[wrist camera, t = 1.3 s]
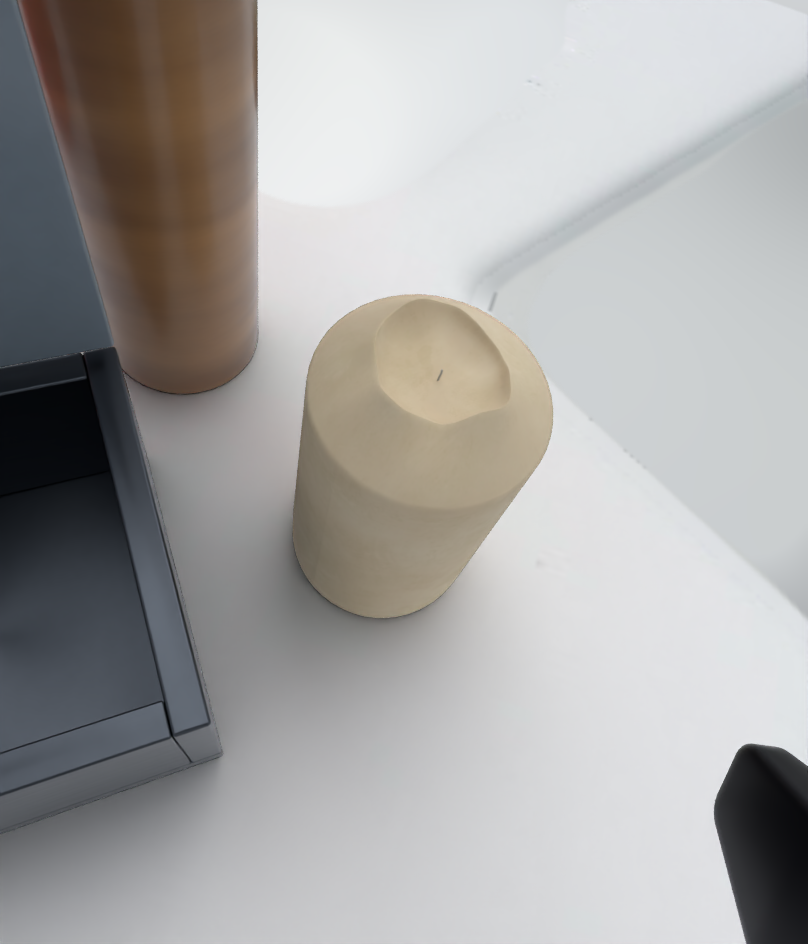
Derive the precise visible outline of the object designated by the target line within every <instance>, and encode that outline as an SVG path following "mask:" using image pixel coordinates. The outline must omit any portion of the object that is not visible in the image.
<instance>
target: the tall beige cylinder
mask: <svg viewBox="0 0 808 944" xmlns="http://www.w3.org/2000/svg"><path fill="white" fill-rule="evenodd" d="M18 4H19V7H20V11H21V14H22V18H23V21H24V25H25V28H26V32H27V36H28V39H29V43H30V46H31V50H32V53H33V57H34V60H35V64H36V67H37V71H38V74H39V78H40V81H41V85H42V88H43V92H44V95H45V99H46V102H47V106H48V109H49V113H50V116H51V120H52V123H53V127H54V130H55V134H56V137H57V141H58V144H59V148H60V151H61V155H62V158H63V162H64V166H65V169H66V173H67V176H68V180H69V183H70V187H71V190H72V194H73V197H74V201H75V204H76V208H77V211H78V215H79V218H80V222H81V225H82V229H83V232H84V236H85V239H86V243H87V246H88V250H89V253H90V257H91V260H92V264H93V267H94V271H95V274H96V278H97V281H98V285H99V288H100V292H101V296H102V299H103V303H104V306H105V310H106V313H107V317H108V320H109V324H110V328H111V332H112V336H113V340H114V345H113V346H112V347H115V348H116V350H117V353H118V357H119V360H120V364H121V367H122V370H123V371H124V372H125V373H126V374H128V375H129V376H130V377H132V378H133V379H134V380H136V381H138V382H139V383H141V384H143V385H145V386H147V387H150V388H152V389H155V390H159V391H163V392H168V393H178V394H187V393H197V392H203V391H207V390H210V389H213V388H216V387H218V386H221V385H223V384H225V383H226V382H228V381H230V380H231V379H233V378H234V377H235V376H237V375H238V374H239V373H240V372H241V371H242V370H243V369H244V368H245V367H246V365H247V364H248V363H249V361H250V360H251V358H252V356H253V354H254V352H255V349H256V346H257V341H258V81H257V80H258V77H257V76H258V75H257V74H258V73H257V72H258V70H257V69H258V68H257V66H258V60H257V58H258V56H257V54H258V51H257V0H18Z"/></svg>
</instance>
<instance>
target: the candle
mask: <svg viewBox="0 0 808 944" xmlns="http://www.w3.org/2000/svg"><path fill="white" fill-rule="evenodd" d="M552 426H553V405H552V398H551V393H550V390H549V386H548V382H547V380H546V378H545V375H544V373H543V371H542V369H541V367H540V365H539V363H538V362H537V360H536V358H535V357H534V355H533V354H532V353H531V351H530V350H529V349H528V347H527V346H526V345H525V344H524V343H523V342H522V340H521V339H520V338H519V337H518V336H517V335H516V334H515V333H514V332H512V331H511V330H510V329H509V328H508V327H506V326H505V325H504V324H503V323H501V322H500V321H498V320H497V319H495V318H494V317H492V316H491V315H489V314H487V313H485V312H483V311H482V310H480V309H478V308H475V307H473V306H471V305H468V304H466V303H463V302H460V301H456V300H453V299H449V298H444V297H439V296H433V295H421V294H415V295H399V296H391V297H387V298H383V299H379V300H375V301H373V302H370V303H367V304H365V305H362V306H360V307H359V308H357V309H355V310H353V311H351V312H350V313H348V314H347V315H345V316H344V317H343V318H341V319H340V320H339V321H338V322H337V323H336V324H335V325H333V326H332V327H331V328H330V329H329V330H328V332H327V333H326V334H325V336H324V337H323V338H322V340H321V341H320V343H319V345H318V346H317V348H316V350H315V352H314V354H313V357H312V360H311V362H310V365H309V370H308V375H307V381H306V390H305V400H304V410H303V420H302V430H301V440H300V450H299V460H298V470H297V480H296V490H295V500H294V510H293V533H292V534H293V543H294V548H295V552H296V556H297V558H298V561H299V563H300V566H301V568H302V570H303V572H304V574H305V575H306V577H307V579H308V580H309V581H310V583H311V584H312V585H313V587H314V588H315V589H316V590H317V591H318V592H319V593H320V594H321V595H322V596H323V597H325V598H326V599H327V600H329V601H330V602H331V603H333V604H334V605H336V606H338V607H340V608H341V609H344V610H346V611H348V612H351V613H354V614H357V615H361V616H365V617H372V618H392V617H399V616H403V615H407V614H410V613H413V612H415V611H418V610H420V609H422V608H424V607H426V606H427V605H429V604H431V603H432V602H434V601H435V600H436V599H438V598H439V597H440V596H441V595H442V594H443V593H444V592H445V591H446V590H447V589H448V588H449V587H450V586H451V584H452V583H453V582H454V581H455V579H456V578H457V577H458V575H459V574H460V572H461V571H462V570H463V568H464V567H465V566H466V564H467V563H468V561H469V560H470V559H471V557H472V556H473V555H474V553H475V552H476V550H477V549H478V548H479V546H480V545H481V543H482V542H483V541H484V539H485V538H486V537H487V535H488V534H489V532H490V531H491V530H492V528H493V527H494V526H495V524H496V523H497V521H498V520H499V519H500V517H501V516H502V514H503V513H504V512H505V510H506V509H507V508H508V506H509V505H510V503H511V502H512V501H513V499H514V498H515V497H516V495H517V494H518V492H519V491H520V490H521V488H522V487H523V485H524V484H525V483H526V481H527V480H528V479H529V477H530V476H531V474H532V473H533V472H534V470H535V469H536V467H537V466H538V465H539V463H540V461H541V460H542V458H543V456H544V454H545V452H546V450H547V447H548V444H549V440H550V437H551V432H552Z"/></svg>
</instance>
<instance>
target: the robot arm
mask: <svg viewBox="0 0 808 944" xmlns="http://www.w3.org/2000/svg"><path fill="white" fill-rule="evenodd" d="M714 819H715V825H716V829H717V833H718V836H719V840H720V844H721V848H722V852H723V856H724V859H725V863H726V867H727V871H728V875H729V879H730V883H731V886H732V890H733V894H734V898H735V902H736V906H737V909H738V913H739V917H740V921H741V925H742V929H743V933H744V936H745V940H746V944H808V766H807V765H805V764H804V763H803V762H801V761H800V760H798V759H797V758H796V757H794V756H793V755H792V754H790V753H789V752H787V751H786V750H784V749H782V748H779V747H773V746H765V745H758V744H746V745H744V746H742V747H741V748H740V749H739V750H738V752H737V753H736V755H735V758H734V760H733V762H732V764H731V766H730V768H729V771H728V773H727V775H726V777H725V779H724V781H723V784H722V786H721V788H720V790H719V792H718V794H717V797H716V800H715V805H714Z"/></svg>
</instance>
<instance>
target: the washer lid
mask: <svg viewBox="0 0 808 944" xmlns="http://www.w3.org/2000/svg"><path fill="white" fill-rule="evenodd" d="M113 345H114V340H113V336H112V332H111V328H110V324H109V320H108V317H107V313H106V310H105V306H104V303H103V299H102V296H101V292H100V288H99V285H98V281H97V278H96V274H95V271H94V267H93V264H92V260H91V257H90V253H89V250H88V246H87V243H86V239H85V236H84V232H83V229H82V225H81V222H80V218H79V215H78V211H77V208H76V204H75V201H74V197H73V194H72V190H71V187H70V183H69V180H68V176H67V173H66V169H65V166H64V162H63V158H62V155H61V151H60V148H59V144H58V141H57V137H56V134H55V130H54V127H53V123H52V120H51V116H50V113H49V109H48V106H47V102H46V99H45V95H44V92H43V88H42V85H41V81H40V78H39V74H38V71H37V67H36V64H35V60H34V57H33V53H32V50H31V46H30V43H29V39H28V36H27V32H26V28H25V25H24V21H23V18H22V14H21V11H20V7H19V4H18V0H0V367H5V366H11V365H16V364H21V363H27V362H32V361H37V360H43V359H48V358H53V357H59V356H64V355H69V354H75V353H80V352H86V351H91V350H96V349H102V348H107V347H112V346H113Z"/></svg>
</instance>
